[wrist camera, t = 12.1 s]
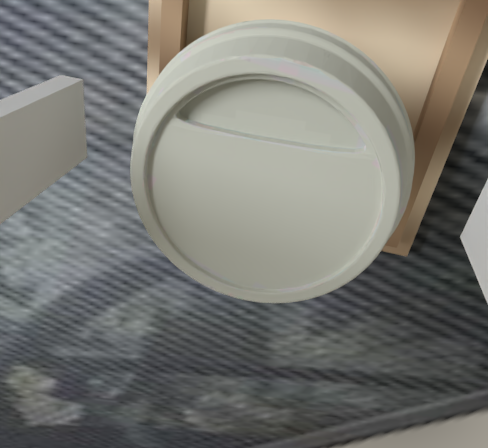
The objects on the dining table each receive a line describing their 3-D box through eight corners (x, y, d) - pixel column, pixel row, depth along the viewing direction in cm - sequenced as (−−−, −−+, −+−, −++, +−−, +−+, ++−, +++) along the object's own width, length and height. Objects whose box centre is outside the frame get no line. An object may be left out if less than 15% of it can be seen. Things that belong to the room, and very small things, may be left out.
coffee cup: (425, 84, 21) (501, 196, 11) (302, 199, 25) (273, 358, 15) (291, -49, 19) (231, -63, 9) (183, 98, 24) (61, 199, 13)
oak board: (160, -126, 20) (142, -135, 18) (531, -71, 18) (551, -74, 17) (150, 191, 28) (137, 205, 26) (404, 247, 27) (409, 266, 25)
